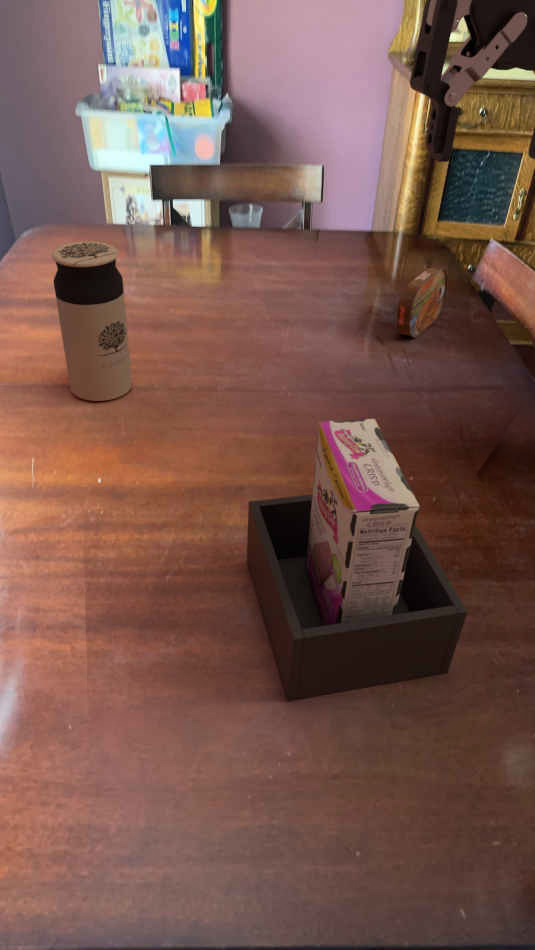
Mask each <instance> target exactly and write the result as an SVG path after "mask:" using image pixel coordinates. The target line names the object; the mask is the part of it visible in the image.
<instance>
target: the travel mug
mask: <svg viewBox="0 0 535 950" xmlns="http://www.w3.org/2000/svg"><path fill="white" fill-rule="evenodd" d="M118 256H119V251H118V249H117V248H116V247H115V246H114V245H111V244H109V243H106V242H100V241H91V240H89V241H87V240H86V241H85V240H83V241H74V242H69V243H65V244H62V245H59V246H57V247H56V248H54V249H53V250H52V252H51V258H52V260H53V261H54V262H55V265H56V268H57V270H56V273H55V275H54V278H53V287H54V294H55V300H56V306H57V312H58V319H59V326H60V332H61V339H62V345H63V352H64V358H65V365H66V372H67V376H68V384H69V389H70V392H71V393H72V394H73V395H74V396H75V397H77V398H79V399H82V400H86V401H93V402H103V401H111V400H114V399H117V398H120V397H123V396H124V395H125V394H127V393H129V391H130V390H131V389H132V386H133V378H132V366H131V355H130V345H129V335H128V334H129V333H128V322H127V310H126V302H125V300H126V299H125V289H124V278H123V276H122V274H121V273H120V271H119V269H118V268H117V258H118Z"/></svg>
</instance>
